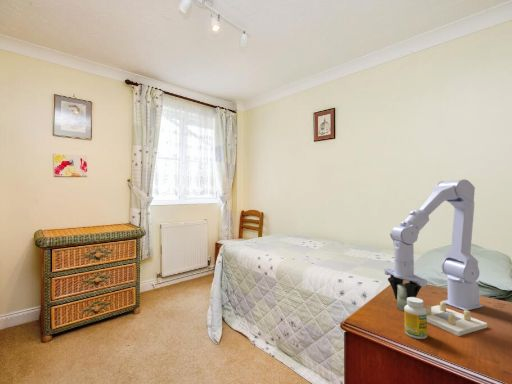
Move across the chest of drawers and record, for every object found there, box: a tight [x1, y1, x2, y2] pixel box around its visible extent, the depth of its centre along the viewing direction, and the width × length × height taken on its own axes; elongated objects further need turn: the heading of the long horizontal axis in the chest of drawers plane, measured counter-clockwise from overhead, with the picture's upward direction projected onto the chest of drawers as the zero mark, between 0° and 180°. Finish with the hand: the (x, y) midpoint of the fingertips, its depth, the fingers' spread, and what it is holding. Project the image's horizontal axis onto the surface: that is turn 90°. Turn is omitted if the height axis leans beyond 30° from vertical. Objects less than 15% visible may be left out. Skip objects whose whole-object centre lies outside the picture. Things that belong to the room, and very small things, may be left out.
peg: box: [396, 282, 408, 312], centre depth 89 cm, size 4×4×8 cm
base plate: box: [424, 301, 488, 337], centre depth 80 cm, size 13×14×4 cm
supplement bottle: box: [403, 297, 428, 340], centre depth 72 cm, size 5×5×10 cm
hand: (404, 301), depth 89 cm, fingers closed on peg, 4 cm apart
